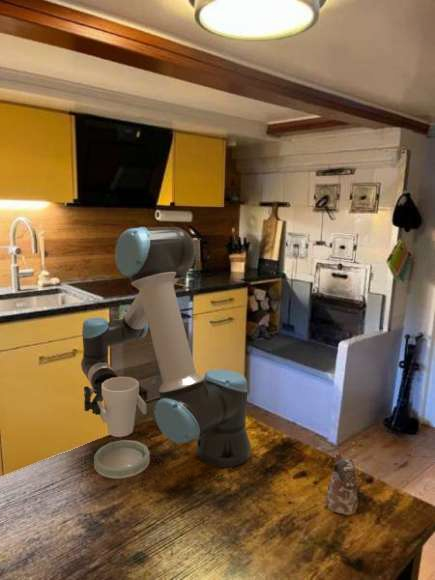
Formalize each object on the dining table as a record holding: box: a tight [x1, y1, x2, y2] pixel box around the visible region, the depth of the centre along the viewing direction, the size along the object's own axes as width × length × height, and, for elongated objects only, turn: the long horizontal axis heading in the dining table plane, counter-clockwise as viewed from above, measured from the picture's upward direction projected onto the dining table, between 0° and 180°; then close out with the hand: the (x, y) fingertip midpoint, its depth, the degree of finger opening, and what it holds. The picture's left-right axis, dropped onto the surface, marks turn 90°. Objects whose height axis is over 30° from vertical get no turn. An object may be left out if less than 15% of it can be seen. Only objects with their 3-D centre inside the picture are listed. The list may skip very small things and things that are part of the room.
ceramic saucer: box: [93, 439, 151, 480], centre depth 114 cm, size 14×14×2 cm
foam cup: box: [102, 376, 140, 438], centre depth 112 cm, size 10×9×13 cm
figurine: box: [325, 452, 359, 516], centre depth 100 cm, size 7×7×12 cm
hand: (125, 413), depth 108 cm, fingers closed on foam cup, 9 cm apart
